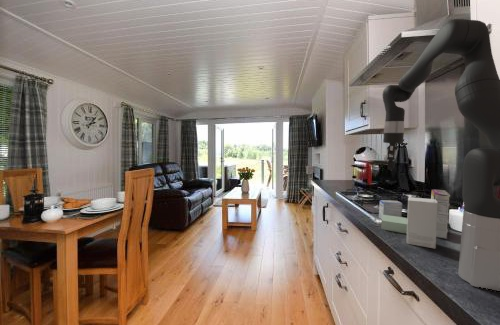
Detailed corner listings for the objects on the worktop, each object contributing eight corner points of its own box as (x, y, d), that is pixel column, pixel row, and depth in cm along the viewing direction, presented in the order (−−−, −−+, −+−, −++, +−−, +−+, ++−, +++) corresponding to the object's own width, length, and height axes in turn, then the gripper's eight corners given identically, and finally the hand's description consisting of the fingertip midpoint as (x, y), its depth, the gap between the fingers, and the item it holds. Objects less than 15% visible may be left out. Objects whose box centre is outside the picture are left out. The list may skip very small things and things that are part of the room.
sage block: (410, 235, 91) (411, 224, 91) (381, 230, 96) (381, 220, 96) (408, 227, 100) (409, 218, 100) (381, 223, 105) (382, 214, 105)
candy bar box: (428, 228, 98) (431, 188, 97) (443, 230, 96) (446, 190, 94) (430, 236, 89) (434, 193, 88) (448, 239, 86) (451, 195, 85)
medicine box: (396, 219, 110) (397, 200, 110) (401, 222, 106) (402, 202, 105) (378, 218, 111) (379, 199, 110) (382, 221, 107) (383, 202, 106)
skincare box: (434, 243, 83) (437, 199, 82) (435, 250, 77) (439, 203, 76) (405, 237, 87) (408, 196, 86) (405, 243, 82) (408, 199, 81)
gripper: (403, 131, 96) (400, 171, 98) (404, 132, 108) (401, 167, 110) (382, 131, 100) (379, 169, 102) (385, 132, 112) (382, 166, 114)
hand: (391, 168), depth 106 cm, fingers open, 8 cm apart
